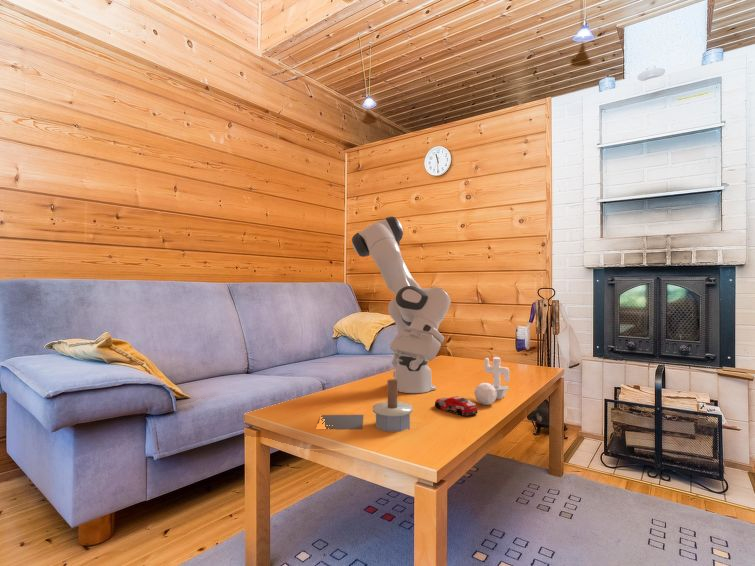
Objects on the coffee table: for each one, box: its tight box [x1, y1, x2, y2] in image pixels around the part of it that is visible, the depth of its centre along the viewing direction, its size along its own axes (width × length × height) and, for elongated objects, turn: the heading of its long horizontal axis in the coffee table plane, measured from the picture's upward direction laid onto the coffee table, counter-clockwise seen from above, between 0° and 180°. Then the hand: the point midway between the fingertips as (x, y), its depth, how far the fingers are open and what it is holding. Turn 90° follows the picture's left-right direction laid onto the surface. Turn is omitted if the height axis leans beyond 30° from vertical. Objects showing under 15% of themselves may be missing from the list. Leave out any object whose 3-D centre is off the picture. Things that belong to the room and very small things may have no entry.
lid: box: [372, 378, 413, 416], centre depth 129 cm, size 12×12×9 cm
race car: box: [434, 395, 478, 417], centre depth 146 cm, size 16×7×5 cm, turn 37°
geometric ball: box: [473, 382, 497, 406], centre depth 154 cm, size 8×8×8 cm
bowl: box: [375, 413, 411, 432], centre depth 129 cm, size 10×10×5 cm
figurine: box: [483, 356, 510, 400], centre depth 164 cm, size 7×9×15 cm
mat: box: [321, 414, 364, 430], centre depth 133 cm, size 14×14×1 cm
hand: (402, 366), depth 139 cm, fingers open, 8 cm apart
